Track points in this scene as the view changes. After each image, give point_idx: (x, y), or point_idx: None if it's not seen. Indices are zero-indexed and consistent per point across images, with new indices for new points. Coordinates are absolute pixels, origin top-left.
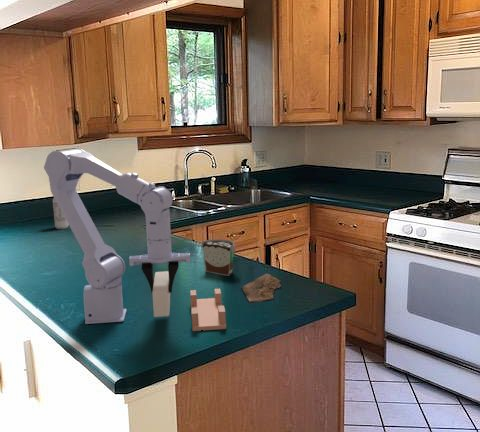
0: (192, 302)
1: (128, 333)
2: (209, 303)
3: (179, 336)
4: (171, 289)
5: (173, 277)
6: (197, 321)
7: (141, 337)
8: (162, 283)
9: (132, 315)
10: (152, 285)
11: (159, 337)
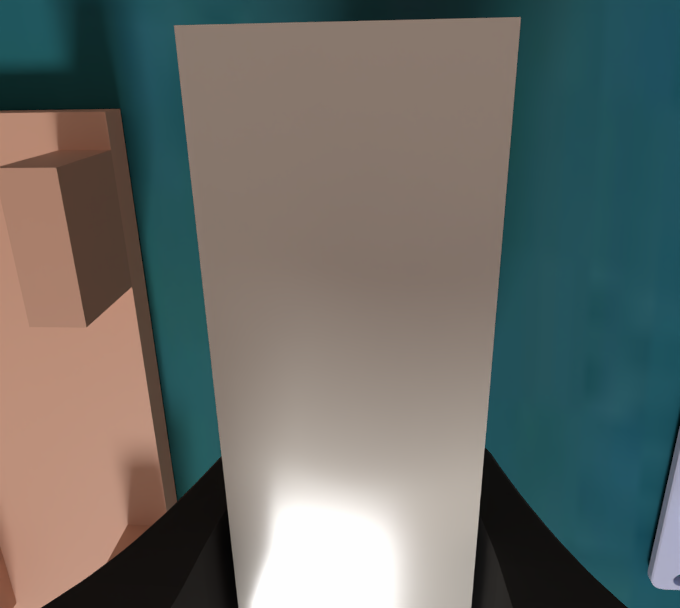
0: None
1: (664, 154)
2: (41, 545)
3: (221, 12)
4: (219, 460)
5: (99, 578)
6: (49, 156)
7: (556, 44)
8: (324, 499)
9: (606, 491)
10: (494, 511)
11: (396, 18)
